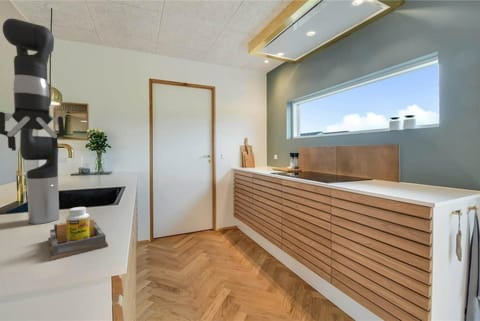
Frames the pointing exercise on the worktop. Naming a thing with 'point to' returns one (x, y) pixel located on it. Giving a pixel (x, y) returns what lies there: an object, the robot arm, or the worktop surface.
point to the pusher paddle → (63, 230)
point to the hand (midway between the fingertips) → (34, 150)
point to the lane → (75, 244)
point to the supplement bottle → (77, 224)
